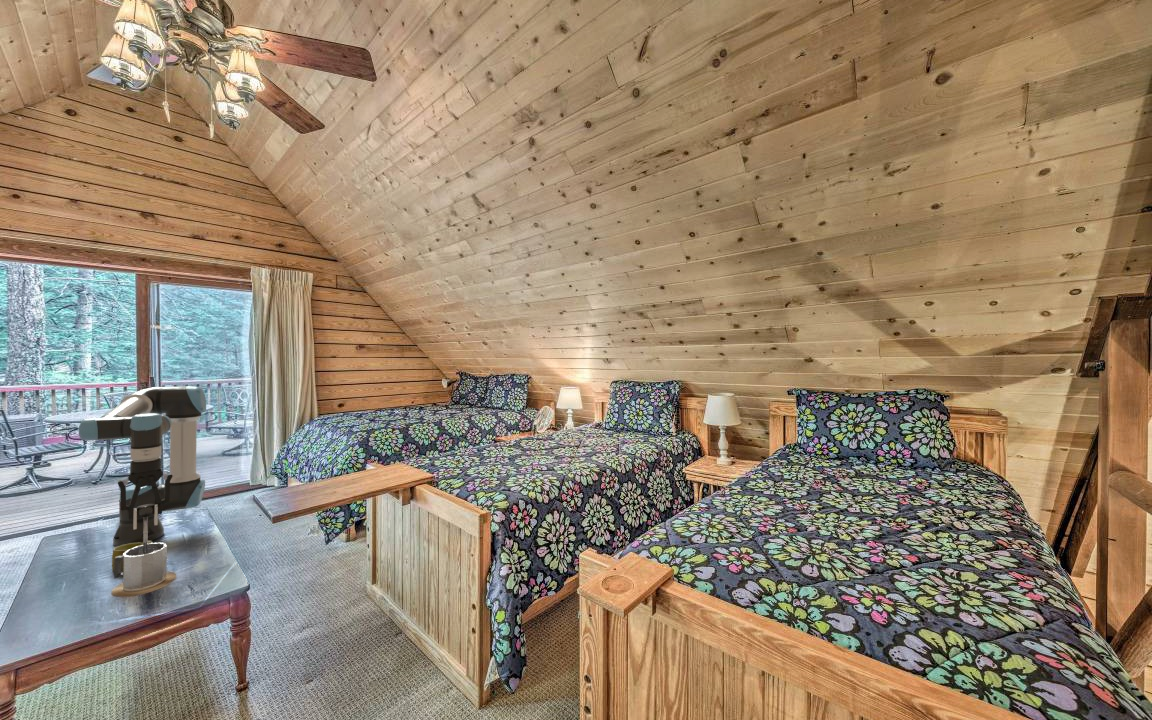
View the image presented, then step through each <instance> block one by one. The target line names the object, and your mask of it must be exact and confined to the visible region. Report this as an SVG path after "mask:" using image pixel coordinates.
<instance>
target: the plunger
mask: <svg viewBox="0 0 1152 720" xmlns="http://www.w3.org/2000/svg"><path fill="white" fill-rule="evenodd" d="M153 514H155V504H145V505H141V506H138V507H137V517H144V532H143V555H145V554H147V546H148V516H150V515H153Z"/></svg>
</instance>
